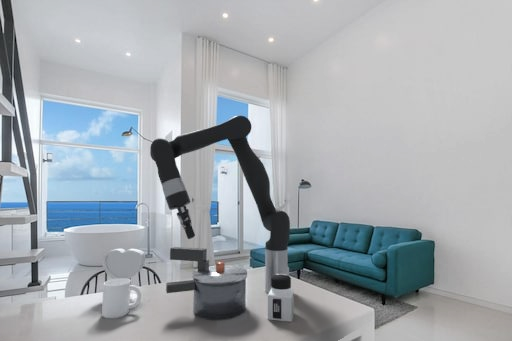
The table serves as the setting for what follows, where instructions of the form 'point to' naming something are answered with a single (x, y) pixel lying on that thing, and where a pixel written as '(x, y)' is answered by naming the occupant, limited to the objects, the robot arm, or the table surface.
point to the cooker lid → (208, 267)
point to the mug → (118, 297)
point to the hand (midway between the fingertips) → (191, 237)
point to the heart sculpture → (123, 264)
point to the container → (281, 298)
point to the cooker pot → (214, 298)
